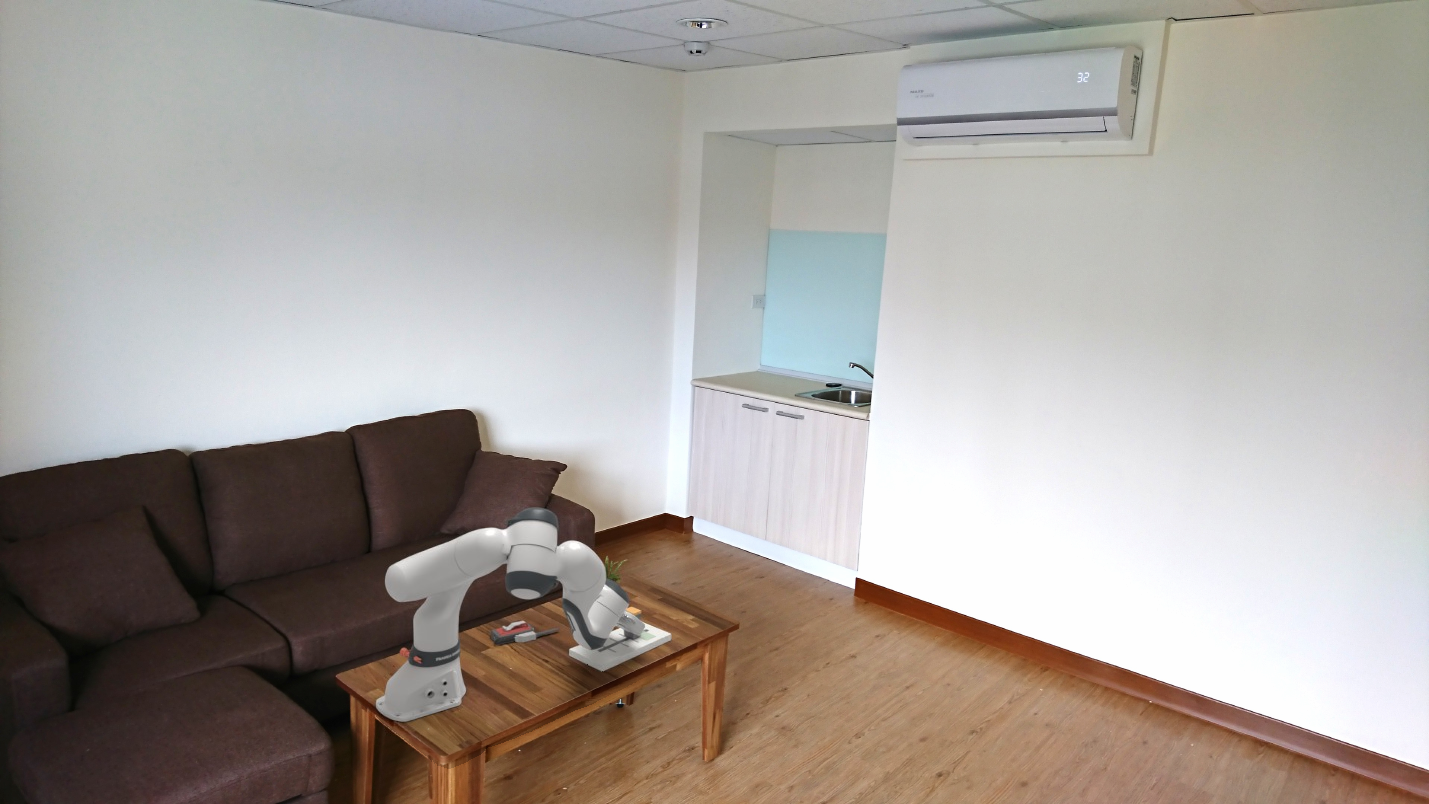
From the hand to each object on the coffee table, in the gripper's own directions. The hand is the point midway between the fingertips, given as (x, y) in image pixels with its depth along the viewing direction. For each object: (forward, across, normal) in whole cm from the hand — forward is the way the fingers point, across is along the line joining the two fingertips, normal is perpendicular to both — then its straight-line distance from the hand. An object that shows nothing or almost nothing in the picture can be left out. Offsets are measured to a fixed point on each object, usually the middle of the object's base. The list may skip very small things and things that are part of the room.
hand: (628, 628), depth 268 cm
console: (+2, 0, +5) cm, 6 cm away
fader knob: (+4, 0, +1) cm, 4 cm away
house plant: (+16, +26, -8) cm, 32 cm away
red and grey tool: (-8, +27, +16) cm, 33 cm away
